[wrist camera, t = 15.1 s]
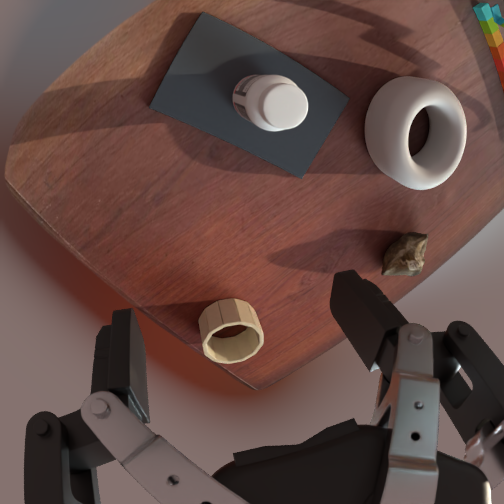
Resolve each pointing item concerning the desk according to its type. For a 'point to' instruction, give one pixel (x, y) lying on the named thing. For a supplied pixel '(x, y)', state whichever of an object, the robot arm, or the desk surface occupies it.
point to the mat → (222, 87)
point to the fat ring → (398, 124)
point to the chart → (492, 33)
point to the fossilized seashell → (405, 255)
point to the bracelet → (229, 315)
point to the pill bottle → (270, 102)
